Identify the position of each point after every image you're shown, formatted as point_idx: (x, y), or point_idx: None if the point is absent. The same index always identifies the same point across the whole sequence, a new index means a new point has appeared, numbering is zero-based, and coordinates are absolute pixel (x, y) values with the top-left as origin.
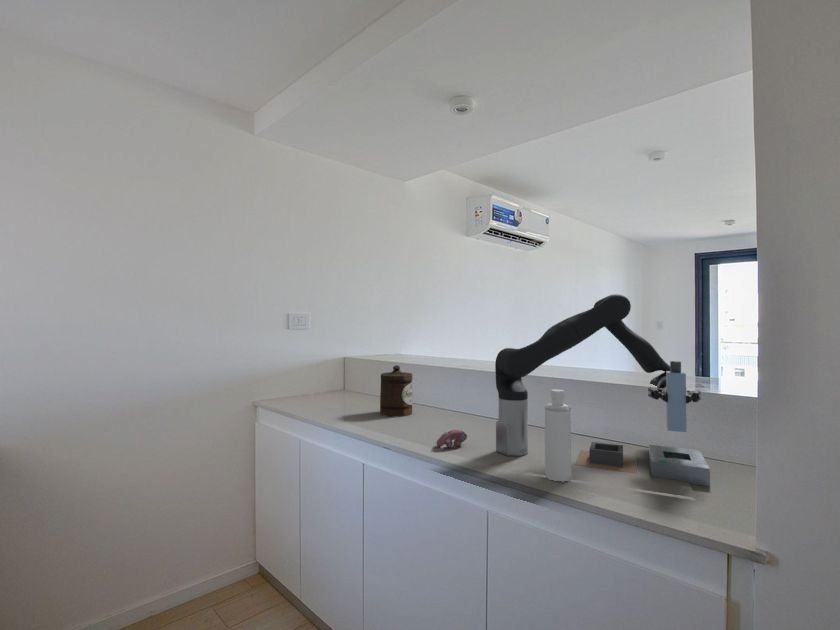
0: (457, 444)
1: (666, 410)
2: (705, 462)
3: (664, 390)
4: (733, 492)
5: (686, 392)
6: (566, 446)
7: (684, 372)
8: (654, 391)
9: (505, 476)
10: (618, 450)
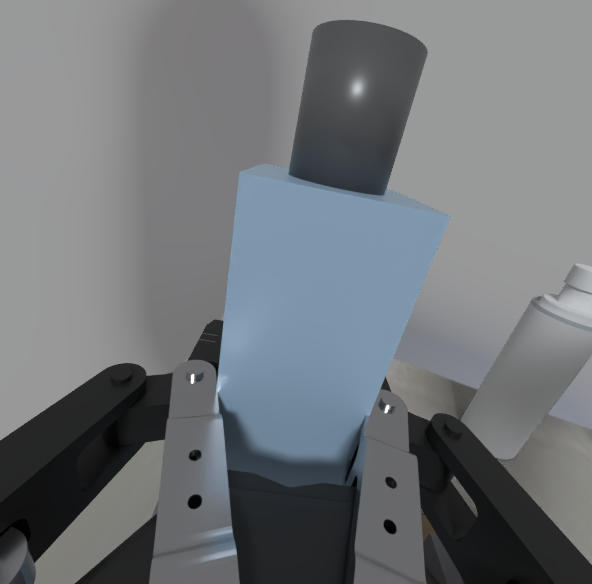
0: None
1: None
2: (156, 512)
3: (392, 447)
4: (139, 449)
5: (196, 386)
6: (492, 366)
7: (253, 168)
8: (460, 429)
9: (550, 419)
10: (458, 572)
